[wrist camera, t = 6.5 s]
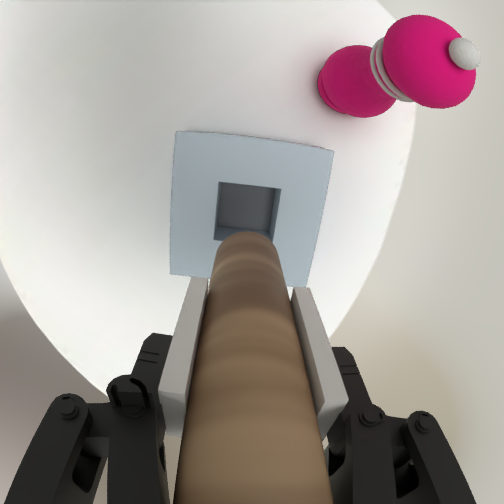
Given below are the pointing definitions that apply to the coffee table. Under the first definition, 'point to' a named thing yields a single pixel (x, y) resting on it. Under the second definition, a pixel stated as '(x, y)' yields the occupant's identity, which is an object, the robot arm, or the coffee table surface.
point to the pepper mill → (401, 69)
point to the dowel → (250, 391)
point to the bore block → (246, 199)
